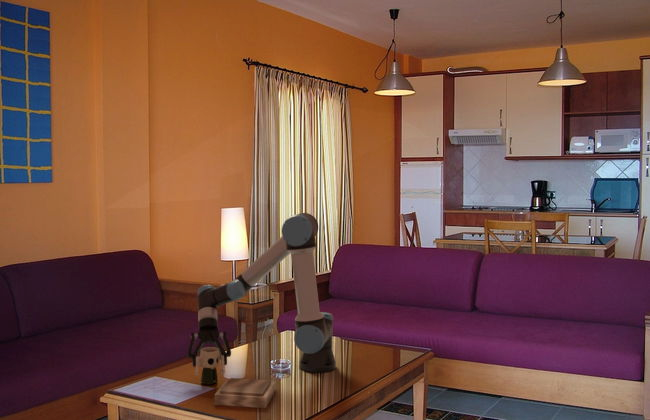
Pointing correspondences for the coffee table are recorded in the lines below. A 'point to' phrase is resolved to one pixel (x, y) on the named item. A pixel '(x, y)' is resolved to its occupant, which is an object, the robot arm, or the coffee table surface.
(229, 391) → the birch plinth
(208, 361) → the character mug
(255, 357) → the coffee table surface
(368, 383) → the coffee table surface
